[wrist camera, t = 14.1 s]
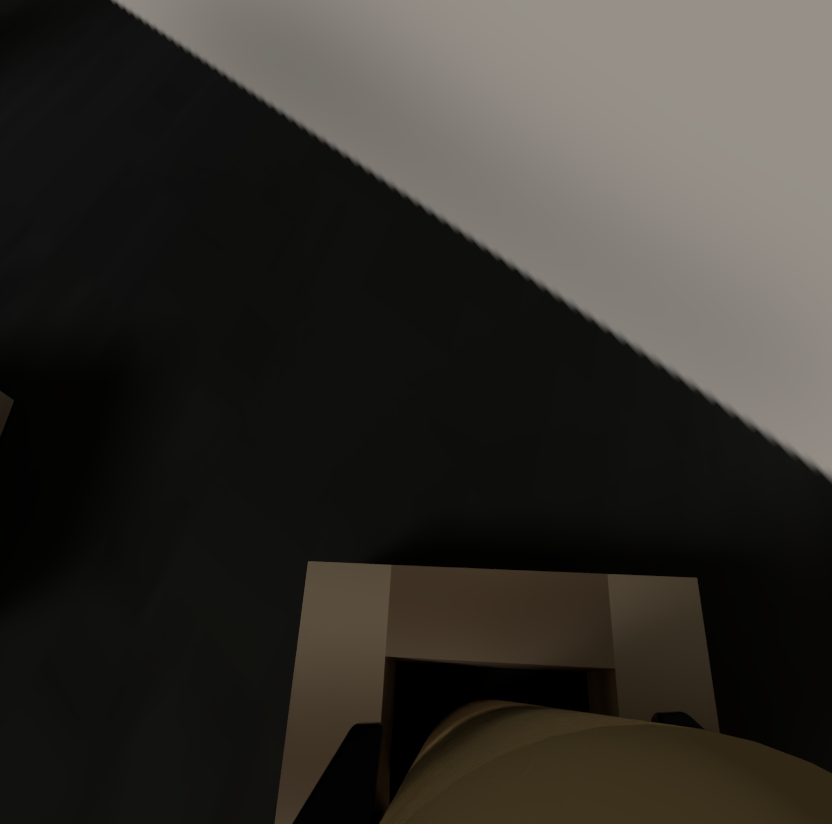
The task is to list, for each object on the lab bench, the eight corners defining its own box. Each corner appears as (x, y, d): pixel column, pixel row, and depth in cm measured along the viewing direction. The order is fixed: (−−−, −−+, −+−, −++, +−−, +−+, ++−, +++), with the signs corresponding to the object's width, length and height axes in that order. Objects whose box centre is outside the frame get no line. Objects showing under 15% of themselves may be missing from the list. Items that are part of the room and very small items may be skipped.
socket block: (707, 1043, 12) (779, 1142, 10) (285, 1002, 13) (241, 1083, 10) (656, 596, 16) (697, 578, 13) (331, 581, 17) (307, 561, 14)
